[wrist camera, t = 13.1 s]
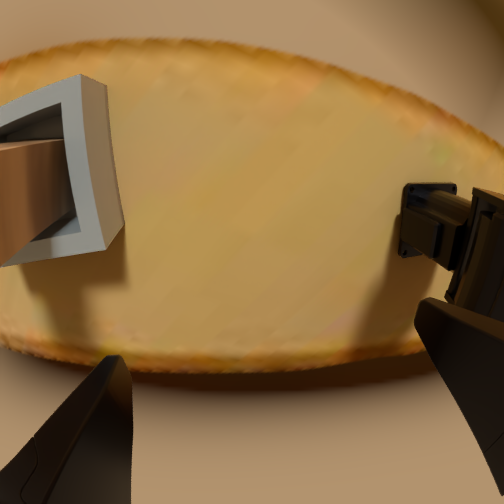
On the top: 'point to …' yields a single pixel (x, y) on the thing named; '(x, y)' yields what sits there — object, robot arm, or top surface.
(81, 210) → the slate well
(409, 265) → the top surface
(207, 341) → the top surface
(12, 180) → the walnut block
